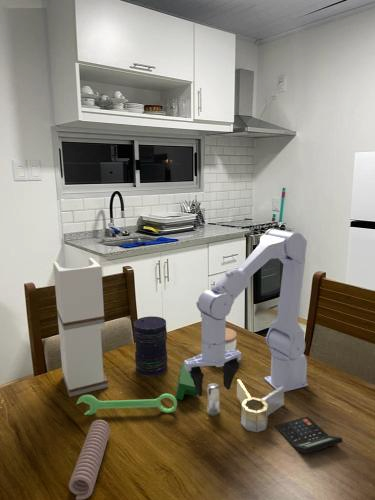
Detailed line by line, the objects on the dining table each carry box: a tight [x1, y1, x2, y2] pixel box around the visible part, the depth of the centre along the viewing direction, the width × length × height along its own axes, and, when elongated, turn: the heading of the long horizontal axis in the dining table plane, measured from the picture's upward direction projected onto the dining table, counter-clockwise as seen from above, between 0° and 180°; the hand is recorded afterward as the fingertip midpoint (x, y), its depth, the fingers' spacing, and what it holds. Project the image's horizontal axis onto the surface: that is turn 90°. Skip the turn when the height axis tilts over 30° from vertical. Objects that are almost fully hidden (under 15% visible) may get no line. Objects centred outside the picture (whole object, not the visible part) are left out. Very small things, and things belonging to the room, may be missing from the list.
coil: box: [68, 419, 111, 500], centre depth 79 cm, size 5×5×18 cm
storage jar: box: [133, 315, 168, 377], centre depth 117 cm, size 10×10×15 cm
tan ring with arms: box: [236, 378, 285, 433], centre depth 97 cm, size 14×14×5 cm
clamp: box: [174, 362, 198, 401], centre depth 105 cm, size 11×6×8 cm, turn 171°
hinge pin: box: [206, 382, 220, 416], centre depth 96 cm, size 3×3×7 cm
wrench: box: [76, 393, 178, 416], centre depth 96 cm, size 25×2×5 cm, turn 92°
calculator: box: [274, 416, 343, 454], centre depth 87 cm, size 9×12×3 cm
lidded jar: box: [225, 327, 238, 351], centre depth 125 cm, size 11×11×9 cm
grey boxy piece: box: [52, 257, 109, 398], centre depth 107 cm, size 11×11×35 cm
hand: (213, 390), depth 95 cm, fingers open, 7 cm apart
